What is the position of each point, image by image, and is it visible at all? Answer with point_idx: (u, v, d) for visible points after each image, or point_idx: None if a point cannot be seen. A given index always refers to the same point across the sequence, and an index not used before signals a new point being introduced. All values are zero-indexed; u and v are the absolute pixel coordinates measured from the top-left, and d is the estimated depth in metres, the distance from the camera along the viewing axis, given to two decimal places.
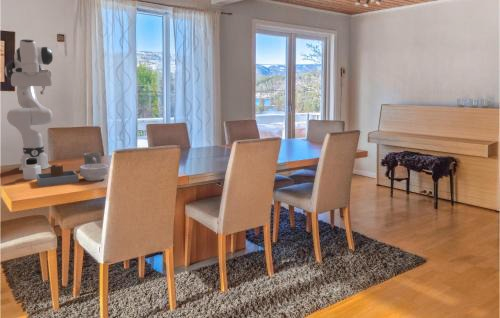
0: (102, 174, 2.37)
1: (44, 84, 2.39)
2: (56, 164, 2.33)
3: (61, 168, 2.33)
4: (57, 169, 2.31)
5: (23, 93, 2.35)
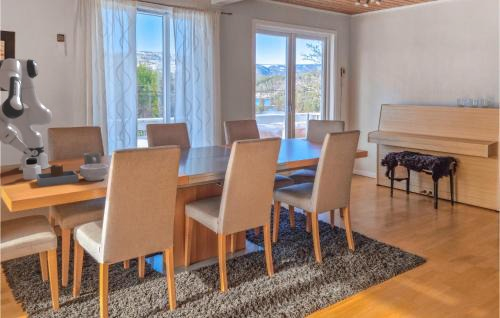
0: (102, 174, 2.37)
1: None
2: (56, 164, 2.33)
3: (61, 168, 2.33)
4: (57, 169, 2.31)
5: (32, 152, 2.22)
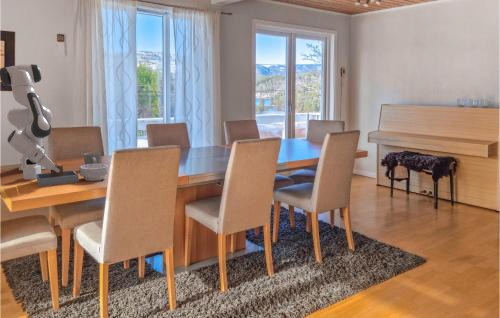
0: (102, 174, 2.37)
1: None
2: (56, 164, 2.33)
3: (61, 168, 2.33)
4: None
5: None
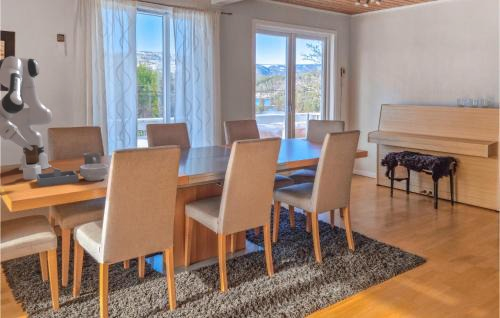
0: (102, 174, 2.37)
1: None
2: None
3: (36, 148, 2.25)
4: None
5: (32, 147, 2.22)
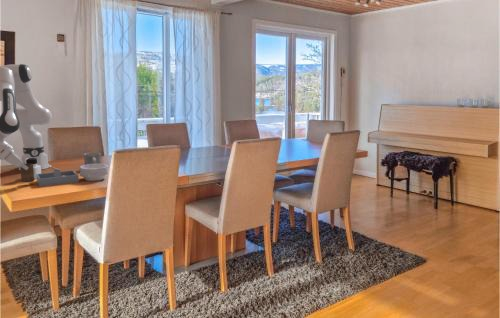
0: (102, 174, 2.37)
1: (19, 156, 2.29)
2: None
3: (31, 167, 2.25)
4: None
5: None
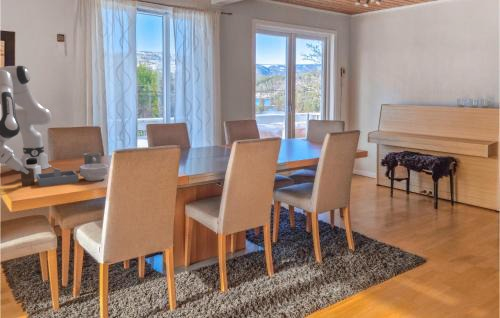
0: (102, 174, 2.37)
1: (20, 160, 2.29)
2: None
3: (32, 172, 2.26)
4: None
5: None
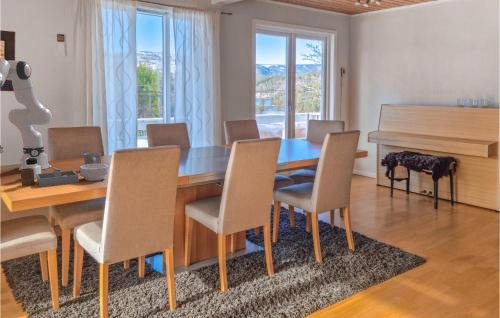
0: (102, 174, 2.37)
1: None
2: None
3: (32, 172, 2.26)
4: (27, 173, 2.24)
5: (2, 150, 2.17)
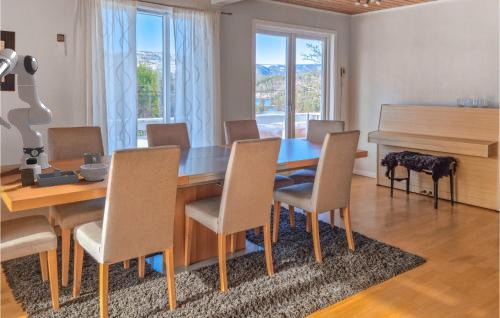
0: (102, 174, 2.37)
1: None
2: None
3: (32, 172, 2.26)
4: (27, 173, 2.24)
5: (10, 126, 2.19)
